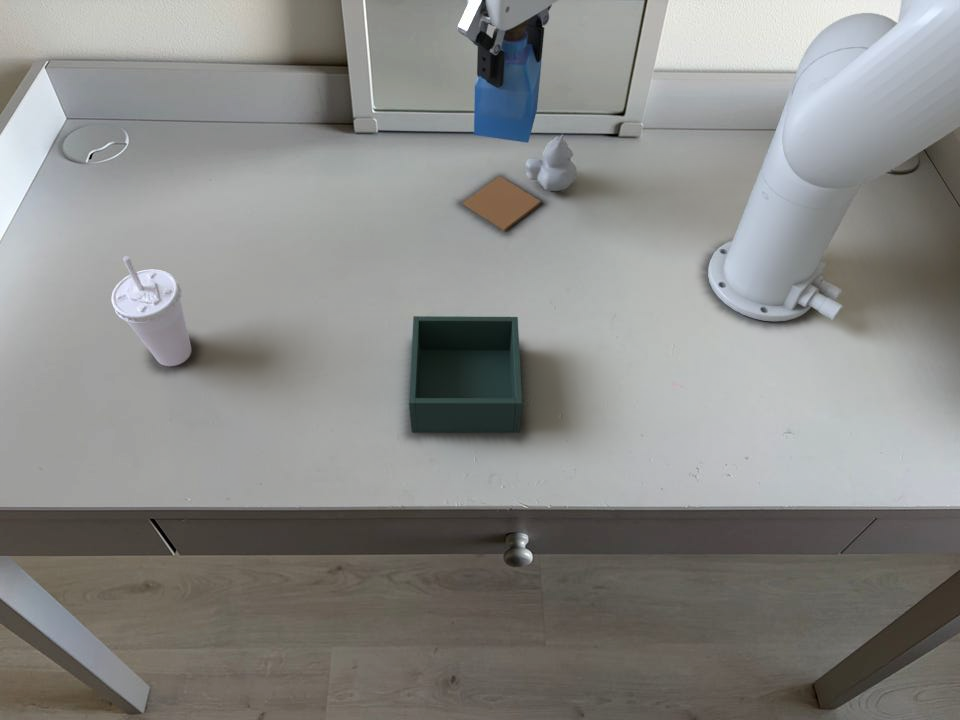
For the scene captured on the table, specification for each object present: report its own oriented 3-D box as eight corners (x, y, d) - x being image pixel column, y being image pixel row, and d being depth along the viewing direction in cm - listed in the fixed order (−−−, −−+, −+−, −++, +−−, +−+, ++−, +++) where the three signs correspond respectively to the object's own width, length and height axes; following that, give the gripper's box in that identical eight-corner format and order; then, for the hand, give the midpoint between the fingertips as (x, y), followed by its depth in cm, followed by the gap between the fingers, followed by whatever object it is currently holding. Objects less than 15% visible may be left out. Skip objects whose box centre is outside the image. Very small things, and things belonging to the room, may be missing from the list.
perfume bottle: (528, 142, 87) (537, 43, 77) (473, 134, 87) (475, 35, 78) (536, 109, 90) (546, 10, 81) (484, 102, 91) (487, 3, 81)
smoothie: (179, 320, 86) (137, 227, 75) (216, 349, 84) (179, 258, 73) (130, 355, 83) (79, 263, 72) (167, 387, 81) (121, 297, 70)
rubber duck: (575, 199, 99) (583, 148, 93) (524, 198, 99) (528, 147, 93) (573, 171, 103) (580, 120, 96) (523, 170, 103) (527, 119, 96)
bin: (514, 347, 85) (517, 316, 81) (518, 432, 78) (522, 403, 74) (415, 347, 85) (413, 316, 80) (411, 432, 78) (408, 403, 74)
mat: (540, 203, 99) (541, 201, 99) (504, 231, 96) (504, 229, 95) (499, 178, 102) (499, 176, 101) (463, 204, 98) (463, 202, 98)
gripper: (487, -68, 63) (481, 120, 78) (612, -130, 71) (586, 51, 86) (421, -98, 66) (428, 89, 81) (548, -154, 74) (533, 25, 89)
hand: (509, 67), depth 83 cm, fingers closed on perfume bottle, 5 cm apart
